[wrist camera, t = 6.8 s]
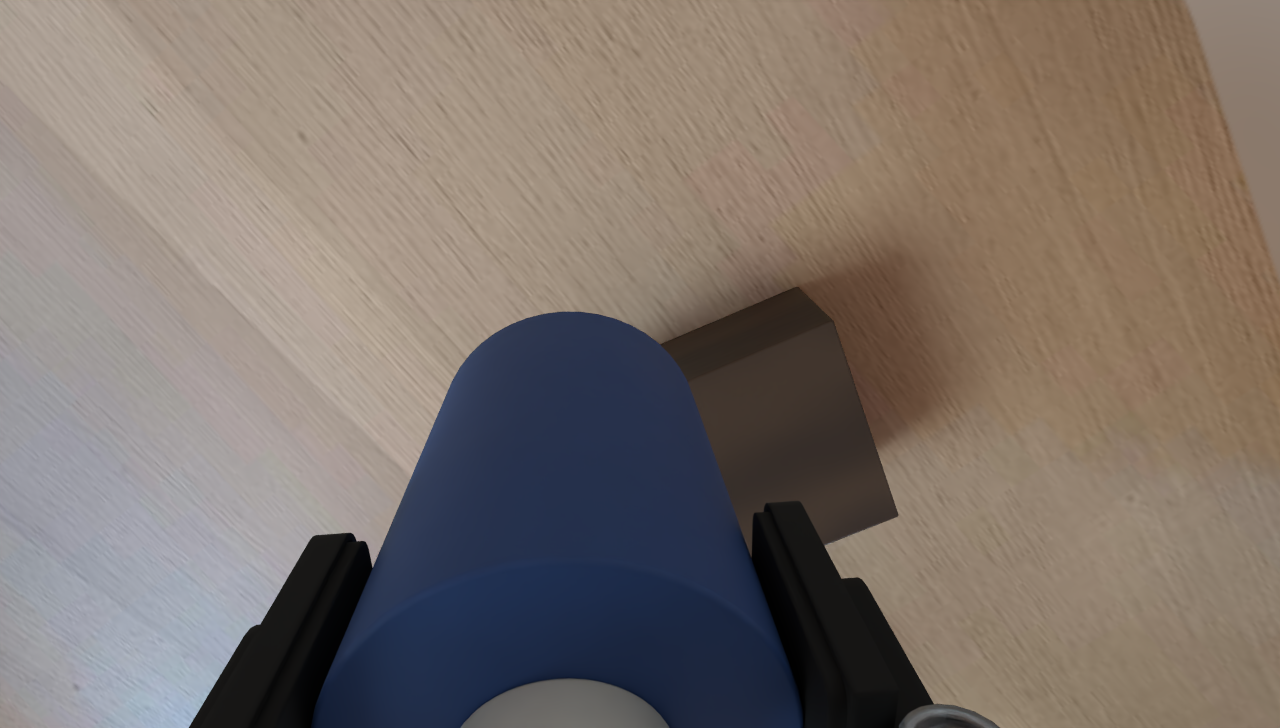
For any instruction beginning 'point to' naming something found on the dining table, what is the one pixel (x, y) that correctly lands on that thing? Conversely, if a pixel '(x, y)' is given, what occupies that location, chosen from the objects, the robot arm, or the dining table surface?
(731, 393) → the block
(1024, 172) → the dining table surface
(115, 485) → the dining table surface
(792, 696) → the bottle
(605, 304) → the dining table surface
